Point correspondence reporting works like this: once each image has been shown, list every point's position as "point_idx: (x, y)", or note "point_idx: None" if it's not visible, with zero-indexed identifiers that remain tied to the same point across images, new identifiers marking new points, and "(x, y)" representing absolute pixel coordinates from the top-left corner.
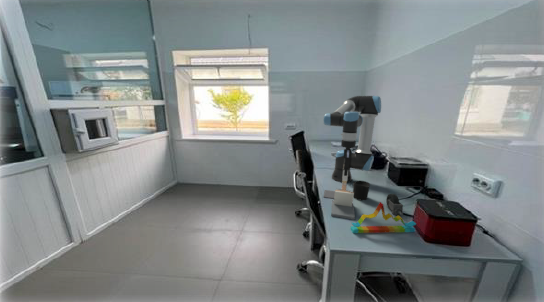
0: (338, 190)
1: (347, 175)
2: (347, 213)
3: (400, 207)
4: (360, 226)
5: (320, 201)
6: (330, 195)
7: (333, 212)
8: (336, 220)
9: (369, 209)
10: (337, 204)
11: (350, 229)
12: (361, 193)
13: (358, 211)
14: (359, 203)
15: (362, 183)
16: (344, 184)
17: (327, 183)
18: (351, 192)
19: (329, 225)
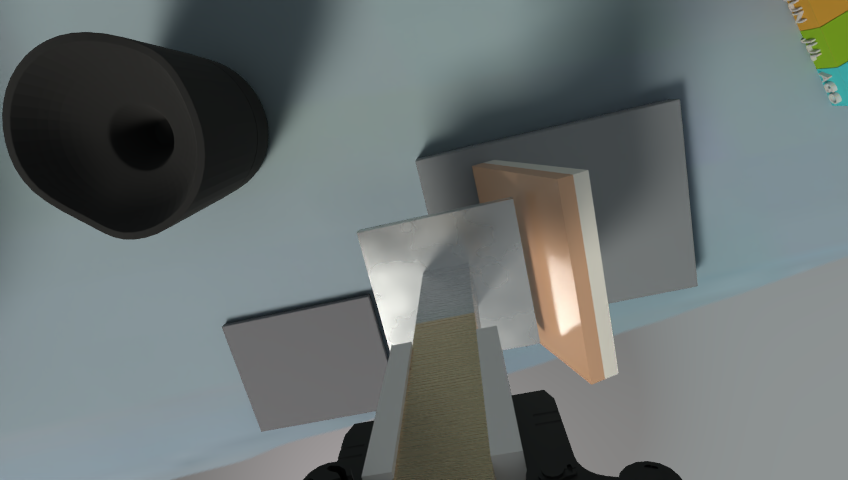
0: (590, 348)
1: (508, 382)
2: (639, 170)
3: None
4: (826, 30)
5: None
6: (342, 365)
7: (674, 275)
8: (738, 227)
9: (409, 6)
10: None
11: (833, 104)
12: (240, 113)
13: (502, 94)
14: (337, 111)
15: (51, 134)
16: (478, 328)
17: (96, 443)
18: (573, 203)
19: (832, 256)
